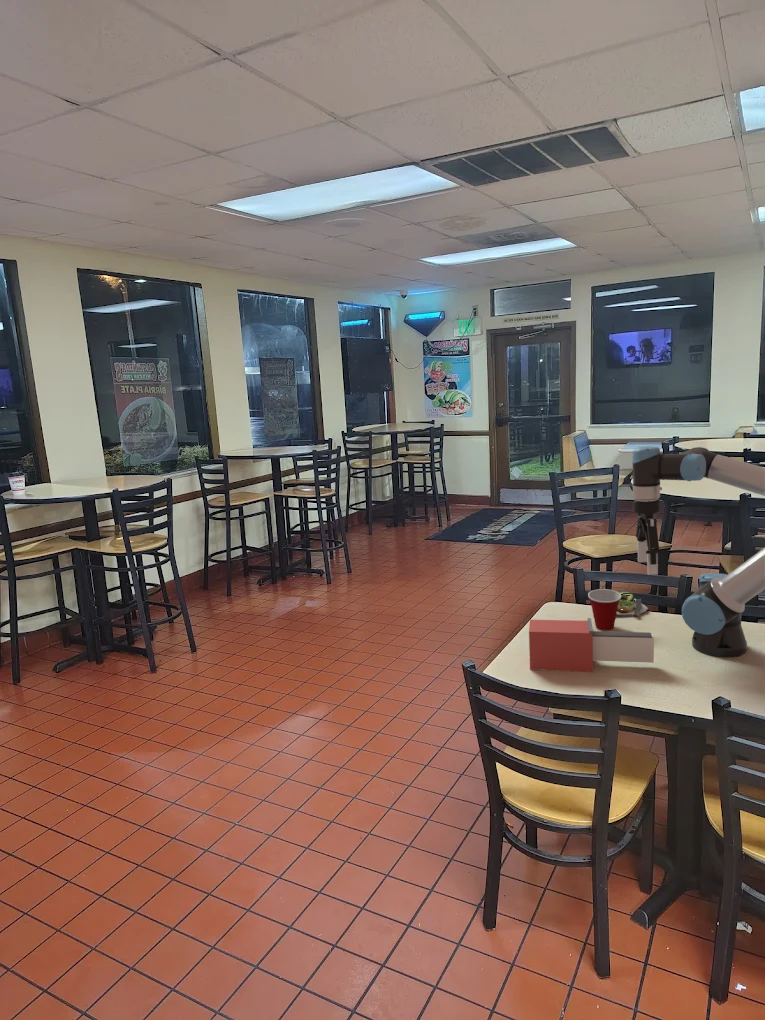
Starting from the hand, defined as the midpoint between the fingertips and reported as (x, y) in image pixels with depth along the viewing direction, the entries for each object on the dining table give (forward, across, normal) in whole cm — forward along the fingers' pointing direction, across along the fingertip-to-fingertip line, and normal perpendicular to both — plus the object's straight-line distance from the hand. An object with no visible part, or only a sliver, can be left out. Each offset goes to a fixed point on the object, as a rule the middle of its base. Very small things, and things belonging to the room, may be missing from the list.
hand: (647, 568), depth 204 cm
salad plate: (+27, +39, +1) cm, 47 cm away
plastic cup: (+26, +20, +10) cm, 34 cm away
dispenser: (+26, -10, +27) cm, 39 cm away
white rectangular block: (+25, -11, +10) cm, 29 cm away
